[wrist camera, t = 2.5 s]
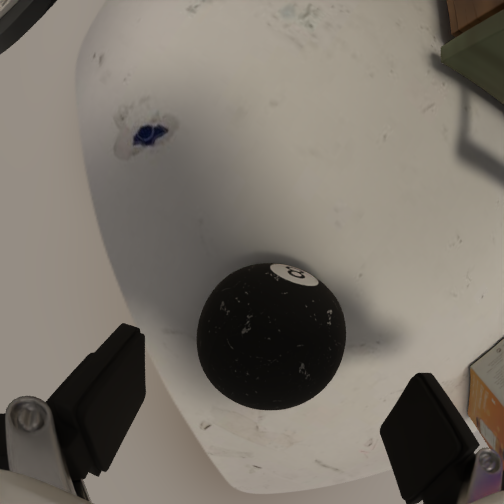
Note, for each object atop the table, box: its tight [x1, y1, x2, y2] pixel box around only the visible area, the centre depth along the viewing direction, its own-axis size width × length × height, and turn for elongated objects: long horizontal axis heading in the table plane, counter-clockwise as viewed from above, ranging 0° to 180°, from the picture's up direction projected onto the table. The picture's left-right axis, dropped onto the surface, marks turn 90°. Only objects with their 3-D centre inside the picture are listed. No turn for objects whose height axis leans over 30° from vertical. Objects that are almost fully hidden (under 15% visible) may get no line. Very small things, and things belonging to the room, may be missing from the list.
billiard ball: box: [197, 263, 346, 410], centre depth 11 cm, size 6×6×6 cm
